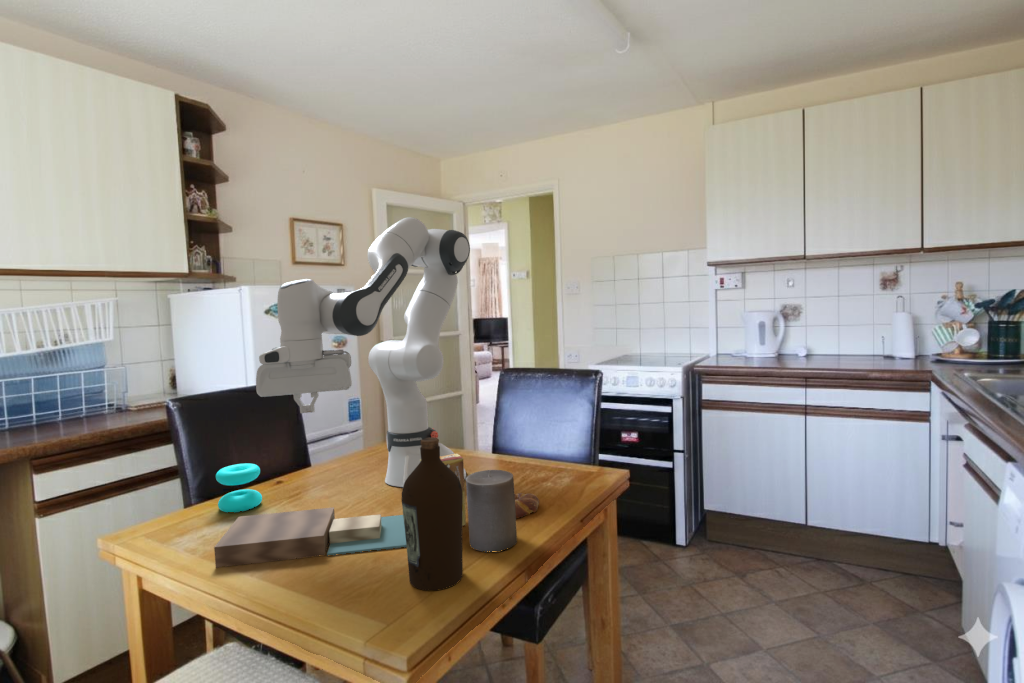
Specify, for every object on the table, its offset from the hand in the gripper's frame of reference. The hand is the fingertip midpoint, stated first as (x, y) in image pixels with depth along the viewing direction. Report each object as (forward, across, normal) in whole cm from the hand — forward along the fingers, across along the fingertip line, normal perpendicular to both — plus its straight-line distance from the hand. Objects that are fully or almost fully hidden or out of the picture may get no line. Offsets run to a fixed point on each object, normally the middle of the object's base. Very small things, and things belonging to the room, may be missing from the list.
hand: (307, 412), depth 129 cm
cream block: (+25, -10, +13) cm, 29 cm away
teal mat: (+25, -13, +13) cm, 31 cm away
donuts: (+25, +20, -15) cm, 36 cm away
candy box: (+26, -28, +13) cm, 40 cm away
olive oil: (+25, -25, +36) cm, 50 cm away
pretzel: (+26, -45, +8) cm, 53 cm away
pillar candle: (+26, -37, +24) cm, 51 cm away
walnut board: (+25, +6, +12) cm, 28 cm away
